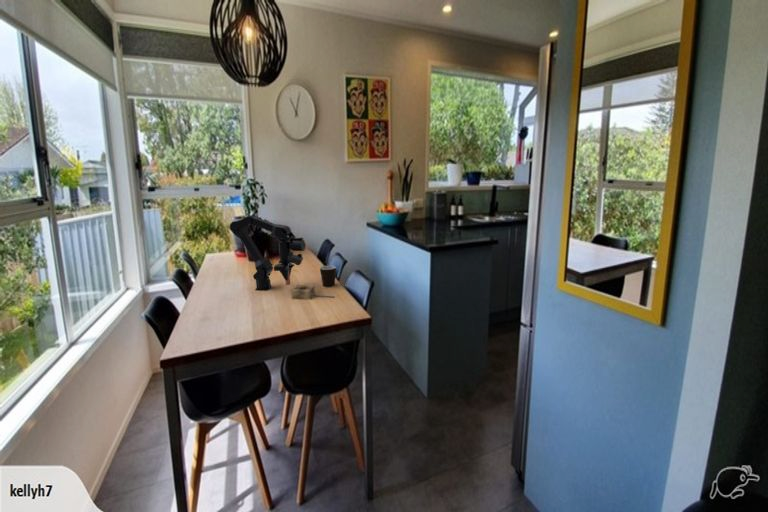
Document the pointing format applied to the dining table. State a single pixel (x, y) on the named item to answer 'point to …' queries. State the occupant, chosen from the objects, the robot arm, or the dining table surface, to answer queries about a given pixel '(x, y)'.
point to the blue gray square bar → (324, 296)
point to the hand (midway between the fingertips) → (287, 279)
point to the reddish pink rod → (288, 279)
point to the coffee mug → (328, 275)
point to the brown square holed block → (303, 292)
